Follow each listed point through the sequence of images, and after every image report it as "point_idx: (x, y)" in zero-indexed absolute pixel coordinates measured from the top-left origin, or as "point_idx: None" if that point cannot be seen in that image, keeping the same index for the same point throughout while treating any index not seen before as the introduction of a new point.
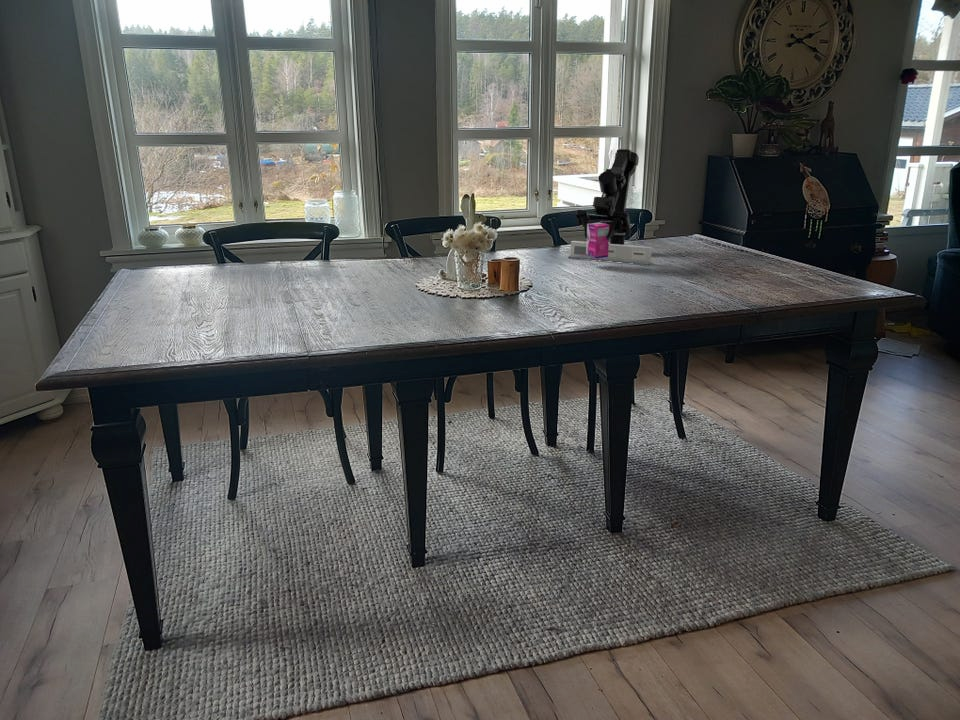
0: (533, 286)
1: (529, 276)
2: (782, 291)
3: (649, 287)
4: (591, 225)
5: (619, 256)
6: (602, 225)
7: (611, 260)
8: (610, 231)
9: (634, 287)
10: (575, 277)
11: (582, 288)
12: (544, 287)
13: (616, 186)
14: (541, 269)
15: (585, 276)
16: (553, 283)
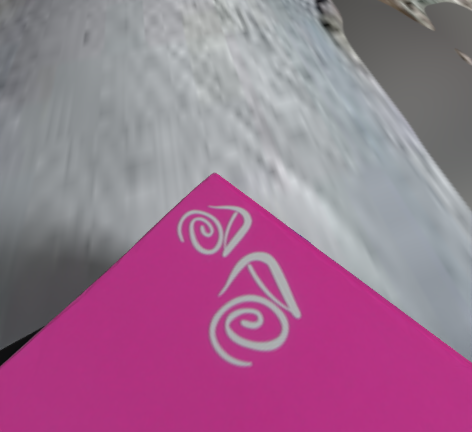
0: (320, 26)
1: (384, 101)
2: None
3: (27, 74)
4: (359, 281)
5: None
6: (101, 288)
7: None
8: (2, 357)
9: (72, 65)
10: (255, 123)
11: (207, 33)
12: (294, 25)
13: None
14: (410, 197)
15: (228, 142)
16: (289, 55)
